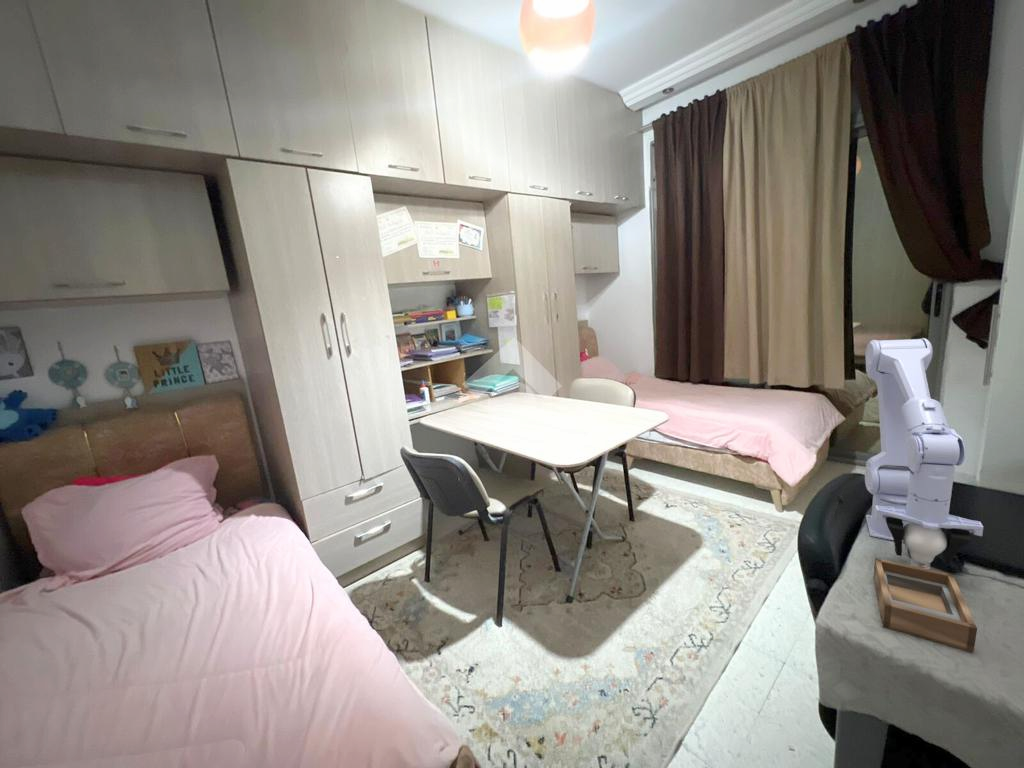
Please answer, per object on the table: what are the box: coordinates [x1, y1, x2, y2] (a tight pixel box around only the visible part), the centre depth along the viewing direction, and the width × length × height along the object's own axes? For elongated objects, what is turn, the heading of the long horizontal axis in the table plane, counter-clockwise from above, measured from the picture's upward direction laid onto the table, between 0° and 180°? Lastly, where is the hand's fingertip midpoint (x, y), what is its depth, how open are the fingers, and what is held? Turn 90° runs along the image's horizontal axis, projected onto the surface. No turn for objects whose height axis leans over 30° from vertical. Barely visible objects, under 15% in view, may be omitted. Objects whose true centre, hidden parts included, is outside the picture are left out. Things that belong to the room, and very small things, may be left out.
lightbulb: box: [903, 522, 948, 570], centre depth 81 cm, size 6×6×11 cm
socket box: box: [872, 557, 978, 654], centre depth 73 cm, size 14×11×4 cm
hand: (921, 557), depth 81 cm, fingers closed on lightbulb, 6 cm apart
